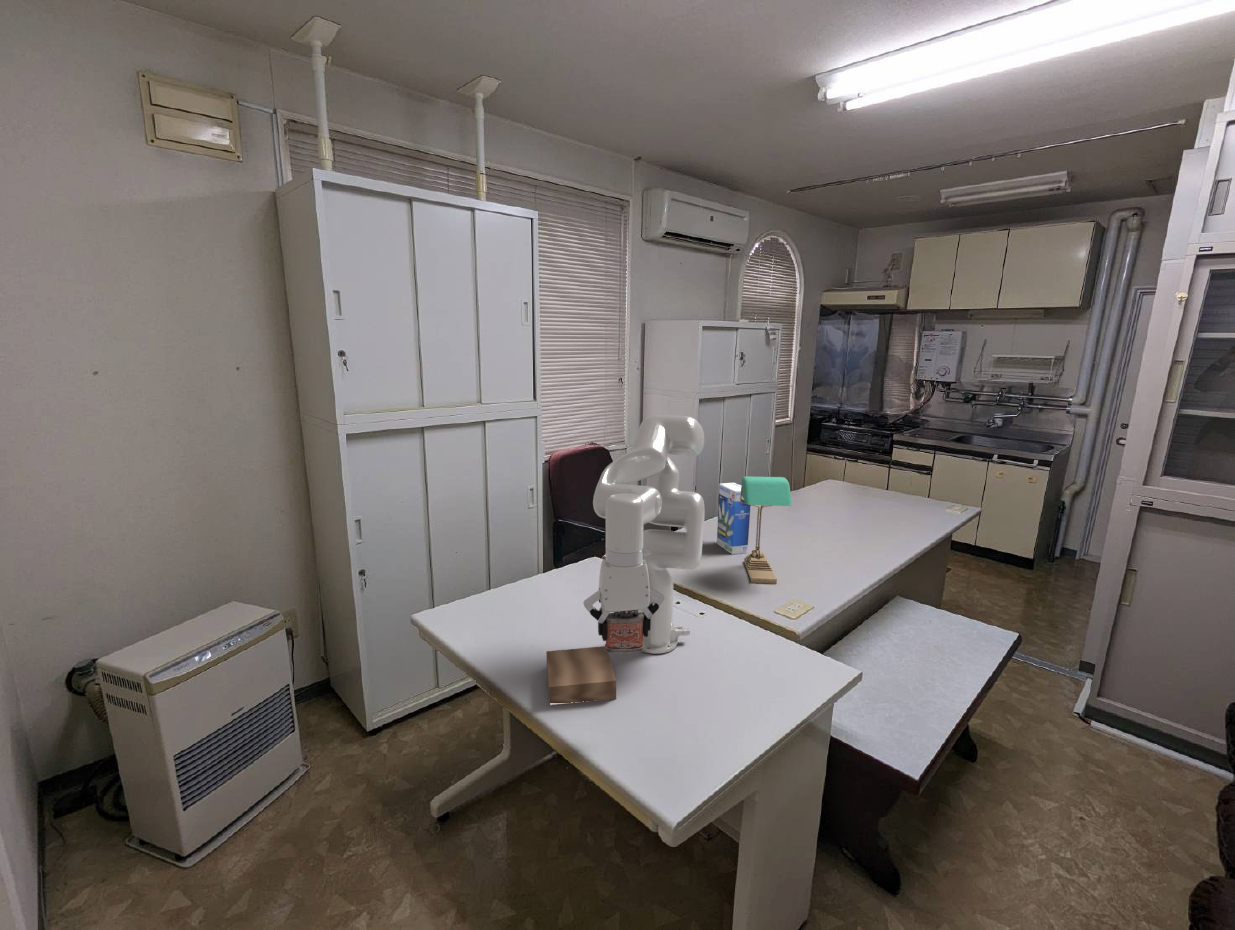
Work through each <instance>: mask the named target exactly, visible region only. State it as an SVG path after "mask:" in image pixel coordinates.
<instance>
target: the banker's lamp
mask: <svg viewBox="0 0 1235 930" xmlns="http://www.w3.org/2000/svg"><path fill="white" fill-rule="evenodd" d="M742 497H743V499H744V500H743V499H742ZM740 501H741V502H742V503H744V504H748V505H750V506H753V507H757V518H756V535H755V536H756V537H755V549H754V550H753V549H752V550H751V553H747V555H746V556H745V557H744V559H743V563H744V566H745V568H746V571H747V574H748V577H749V579H750V583H752V584H772V585H774V584H775V585H777V580H778V578H776V576H775V574H774V572H773V567H772V566H771V564H770V562H769V560H768V558H767V557H766V555H765V554H764V553H763V550H760V549H761V525H762V513H763V512H762V511H763V509H764V508H767V507H773V506H781V507H782V506H783V507H791V506H792V505H793V504H792V496H791V488H790V483H789V481H788V479H787V478H786V477H783V476H751V475H749V476H746V475H745V476H743V477H742V479H741V494H740Z"/></svg>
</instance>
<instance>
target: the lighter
mask: <svg viewBox="0 0 1235 930" xmlns="http://www.w3.org/2000/svg"><path fill="white" fill-rule="evenodd" d="M605 620H606V623H607V640H606V641H605V645H604V646H605V651H606V652H608V653H611V654H612V653H613V654H633V653H641V652H642V651H643V650H644V644H643V620H644V614H643V613H639V612H638V610H631V611H620V612H610V613H609V614H608V616H607V617H606V619H605Z"/></svg>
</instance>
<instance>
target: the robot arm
mask: <svg viewBox="0 0 1235 930" xmlns="http://www.w3.org/2000/svg"><path fill="white" fill-rule="evenodd" d="M704 447H705V432H704V429H703V427H702V425H701V424H700V422H699V421H698V420H697V419H696V418H693V417H692V416H688V415H687V416H686V415H670V414H669V415H667V414H665V415H664V414H656V415H654V414H653V415H650V416H647V417H645V418H644V419H643V420H642V421H641V423H640V425H639V428H638V431H637V433H636V437H635V439H634V442H633V444H632V448H631V449H630V451H629V452H627V453H625V454H624V455H622V456H620V457H619V458H616V459H615V460H614V461H612V462H610V463H609V464H608V465H607V466H606V467H605V468H604V470H603V471H602V472H601V475H600V477H599V480H598V482H597V484H596V486H595V490H594V494H593V500H592V507H593V510H594V512H595V514H596V515H597V516H598V517H600V518H602V519H605V559H603V560H602V561H601V562H600V563H601V564H600V568H599V577H598V579H599V580H598V590H597V591H596V592H594V593H593V594H591V595H590V596H589V597H588V598H586V599H584V600H583V603H582V604H583V606H584V608H585V610H587V612H589V614H590V615H591V616H592V618H594V619H595V620H596V621H597V632H598V636H601V638H602V639H601V640H602V642H606V640H607V623H606V620H605V619H606V617H607V616H608V614H609V613H614V612H620V611H631V610H638V612H639V613H643V614H644V620H643V644H644V650H643V651H641V652H642V653H647V654H653V655H656V654H666V653H669V652H672V651H673V650H675V649H676V648H677V646H678V642H679V639H678V638H679V637H682V636H683V637H686V636H690V634H691V632H690V631H691V630H690V628H689V627H683V625H682V624H677V625H674V624H673V620H674V619H673V616H674V615H673V613H674V580H673V577H672V574H671V573H670V571H669V569H675V570H676V569H677V570H686V571H687V570H688V571H692V570H696V569H698V567H699V566H700V564H701V562H702V555H703V545H704V544H703V542H704V527H705V515H706V514H705V513H706V512H705V510H706V509H705V501H704V497H703V496H702V495H701V494H700V493H698V492H696V491H695V492H694V491H689V490H688V491H687V490H679V480H680V472H679V469H678V468H677V466H676V465H675V463H674V461H673V460H672V459H671V458H670V457H669V455H670V456H686V457H687V456H688V457H689V456H690V457H697V456H699V455H700V454H701V452H702V451H703V449H704ZM646 479H647V480H646ZM643 480H646V485H638V484H637V485H636V484H631V483H633V482H637V481H639V482H640V481H643ZM648 523H649V524H652V525H657V526H664V527H665V526H667V527H678V528H684V530H685V531H673V530H666V529H651V528H650V529H644V525H646V524H648ZM597 602H598V603H599V604H600V607H599V609H598V608H597V607H594V606H593V605H594V604H596V603H597Z"/></svg>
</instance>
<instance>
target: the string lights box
mask: <svg viewBox="0 0 1235 930" xmlns="http://www.w3.org/2000/svg"><path fill="white" fill-rule="evenodd" d="M741 486H742V484H738V483H736V482H725V483H719V489H718V508H717V509H718V512H717V528H716V529H717V530H716V531H717V532H716V544H717V545H718V546H719V547H720V548H722V549H723V548H724V550H725V551H726V552H728V553H729V554H730V553H731V555H741V554H749V553H748V549H749V537H750V536H749V533H750V521H751V520H750V519H751V505H748V504H744V503H742V502H741V501H740V494H741ZM742 499H743V497H742ZM743 500H744V499H743ZM740 553H741V554H740Z"/></svg>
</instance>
